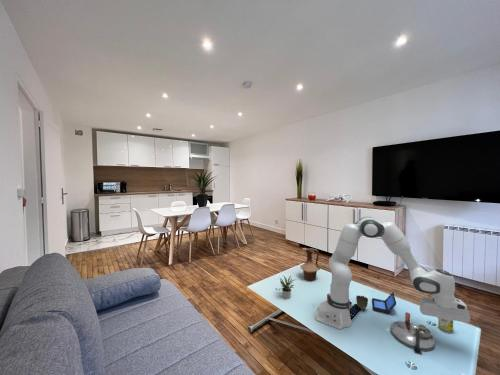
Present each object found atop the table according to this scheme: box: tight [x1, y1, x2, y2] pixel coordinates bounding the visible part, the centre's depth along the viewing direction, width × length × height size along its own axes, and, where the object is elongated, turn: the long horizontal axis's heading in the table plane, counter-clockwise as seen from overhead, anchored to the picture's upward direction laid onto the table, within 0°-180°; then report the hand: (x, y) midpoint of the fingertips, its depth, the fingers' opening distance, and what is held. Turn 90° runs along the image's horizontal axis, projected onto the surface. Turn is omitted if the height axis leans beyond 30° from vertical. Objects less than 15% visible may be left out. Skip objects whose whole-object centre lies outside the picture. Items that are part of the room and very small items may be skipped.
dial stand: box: [412, 323, 423, 355], centre depth 112 cm, size 3×8×12 cm, turn 155°
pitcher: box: [300, 247, 321, 282], centre depth 191 cm, size 18×17×28 cm
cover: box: [417, 324, 432, 340], centre depth 118 cm, size 7×7×5 cm
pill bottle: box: [437, 318, 454, 334], centre depth 125 cm, size 6×6×12 cm
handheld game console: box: [371, 292, 397, 315], centre depth 147 cm, size 16×13×9 cm
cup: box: [355, 295, 369, 311], centre depth 146 cm, size 8×7×8 cm
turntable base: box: [390, 330, 436, 353], centre depth 120 cm, size 20×20×1 cm
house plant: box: [279, 275, 297, 300], centre depth 162 cm, size 14×14×16 cm
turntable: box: [390, 311, 435, 349], centre depth 120 cm, size 20×20×8 cm
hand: (443, 325), depth 114 cm, fingers closed
